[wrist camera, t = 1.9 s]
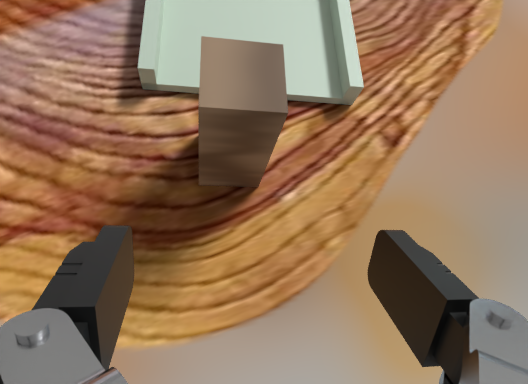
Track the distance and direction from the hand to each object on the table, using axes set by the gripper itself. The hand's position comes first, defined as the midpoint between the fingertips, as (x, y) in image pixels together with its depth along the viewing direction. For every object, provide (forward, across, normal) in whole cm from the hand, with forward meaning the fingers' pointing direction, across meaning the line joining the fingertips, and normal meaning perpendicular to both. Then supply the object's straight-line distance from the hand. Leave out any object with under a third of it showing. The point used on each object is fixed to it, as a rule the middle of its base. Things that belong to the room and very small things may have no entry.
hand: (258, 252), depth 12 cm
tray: (+27, -2, -8) cm, 29 cm away
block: (+17, 0, +2) cm, 17 cm away
